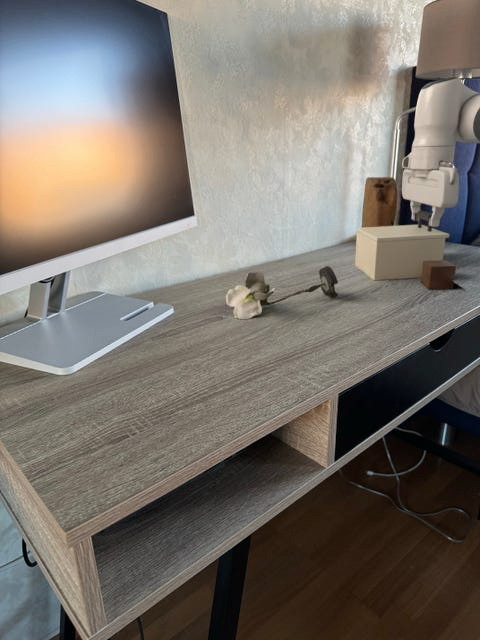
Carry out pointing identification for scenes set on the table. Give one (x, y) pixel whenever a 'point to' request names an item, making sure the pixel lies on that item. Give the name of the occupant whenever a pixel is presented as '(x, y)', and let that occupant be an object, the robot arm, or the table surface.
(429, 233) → the lid
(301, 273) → the table surface
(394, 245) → the beige open box
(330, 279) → the artificial flower
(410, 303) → the table surface
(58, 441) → the table surface
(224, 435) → the table surface
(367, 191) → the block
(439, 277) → the cube
